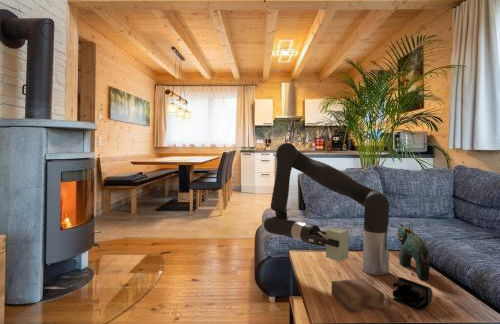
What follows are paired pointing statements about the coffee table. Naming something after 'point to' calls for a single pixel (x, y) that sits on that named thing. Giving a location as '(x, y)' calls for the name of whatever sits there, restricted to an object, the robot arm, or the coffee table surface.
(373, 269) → the robot arm
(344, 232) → the tall sage green block
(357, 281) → the walnut box
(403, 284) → the end cap
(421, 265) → the green animal figurine
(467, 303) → the coffee table surface
